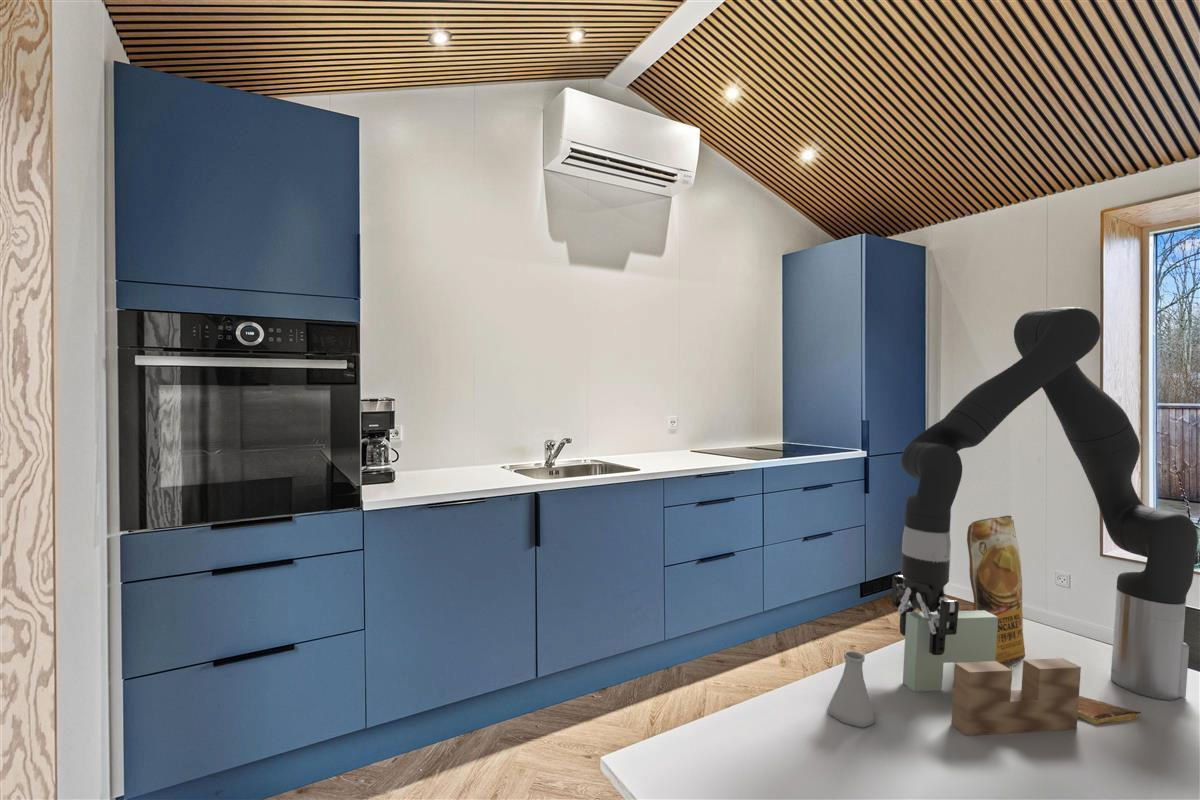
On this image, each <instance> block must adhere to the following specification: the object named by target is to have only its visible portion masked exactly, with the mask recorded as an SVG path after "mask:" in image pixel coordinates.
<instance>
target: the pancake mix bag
mask: <svg viewBox="0 0 1200 800" xmlns="http://www.w3.org/2000/svg"><path fill="white" fill-rule="evenodd" d="M1014 523H1015V522H1014V519H1013V518H1012V515H1003V516H999V517H988V518H983V519H979V520H975V521H972V522H971V523H970V524H969V526H968V528H967V534H966V536H967V537H966V543H967V544H966V545H967V550H968V559H969V580H970V585H971V590H972V595H973V611H980V610H985V611H987V612H989V613H991V614H993V615H995V616H997V617H998V626H997V643H996V660H995V661H997V662H999V663H1000V664H1004V663H1007V662H1011V661H1014V660H1018V659H1020V658H1023V657H1025V656H1026V650H1025V649H1026V647H1025V641H1024V640H1025V639H1024V632H1023V631H1024V625H1023V624H1024V623H1023V622H1024V621H1023V619H1024V618H1023V576H1022V563H1021V556H1020V549H1019V544H1018V540H1017V534H1016V529H1015V524H1014Z"/></svg>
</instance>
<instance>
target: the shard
mask: <svg viewBox="0 0 1200 800" xmlns="http://www.w3.org/2000/svg"><path fill="white" fill-rule="evenodd" d="M1140 715H1142V712H1141V711H1136V710H1133V709H1129V708H1124V707H1121V706H1118V705H1114V704H1111V703H1107V702H1105V701H1100V700H1096V699H1092V698H1090V697H1085V696H1083V695H1082V696H1081V695H1079V704H1078V718H1081V719H1083V720H1085V721H1087V722H1089V723H1091V724H1093V725H1099V724H1102V723H1108V722H1109V723H1111V722H1121V721H1123V722H1125V721H1131V720H1134V719H1135V720H1136V719H1137V718H1138V716H1140Z"/></svg>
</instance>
